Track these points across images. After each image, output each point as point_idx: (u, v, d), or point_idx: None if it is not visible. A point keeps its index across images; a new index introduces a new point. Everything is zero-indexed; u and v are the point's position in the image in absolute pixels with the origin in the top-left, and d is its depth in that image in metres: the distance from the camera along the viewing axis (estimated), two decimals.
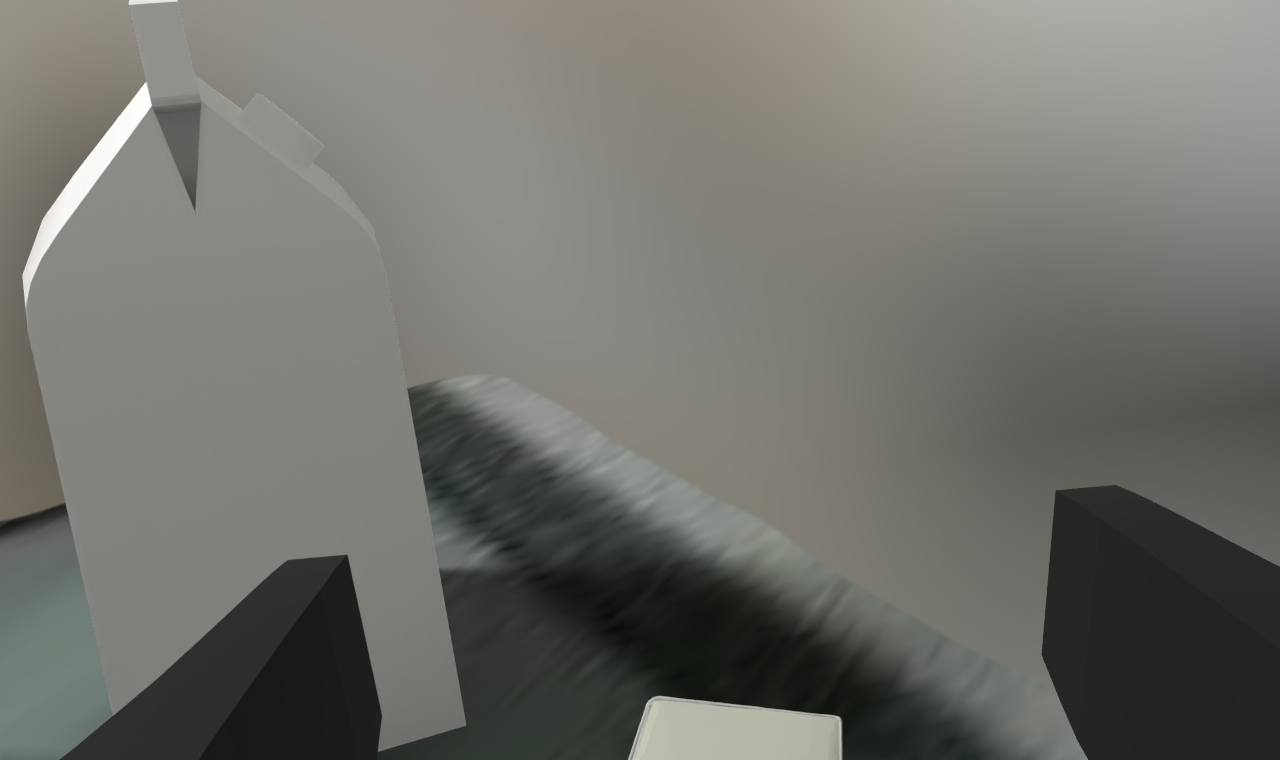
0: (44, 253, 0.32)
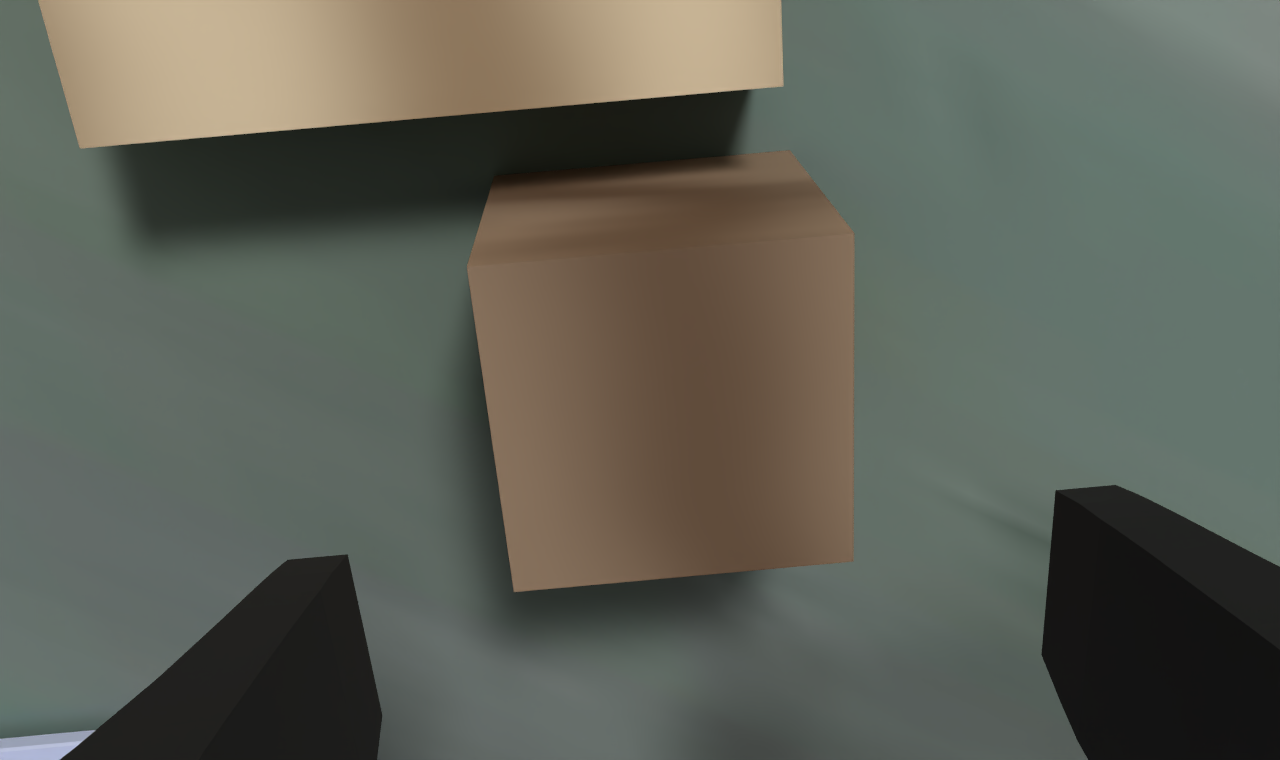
0: None
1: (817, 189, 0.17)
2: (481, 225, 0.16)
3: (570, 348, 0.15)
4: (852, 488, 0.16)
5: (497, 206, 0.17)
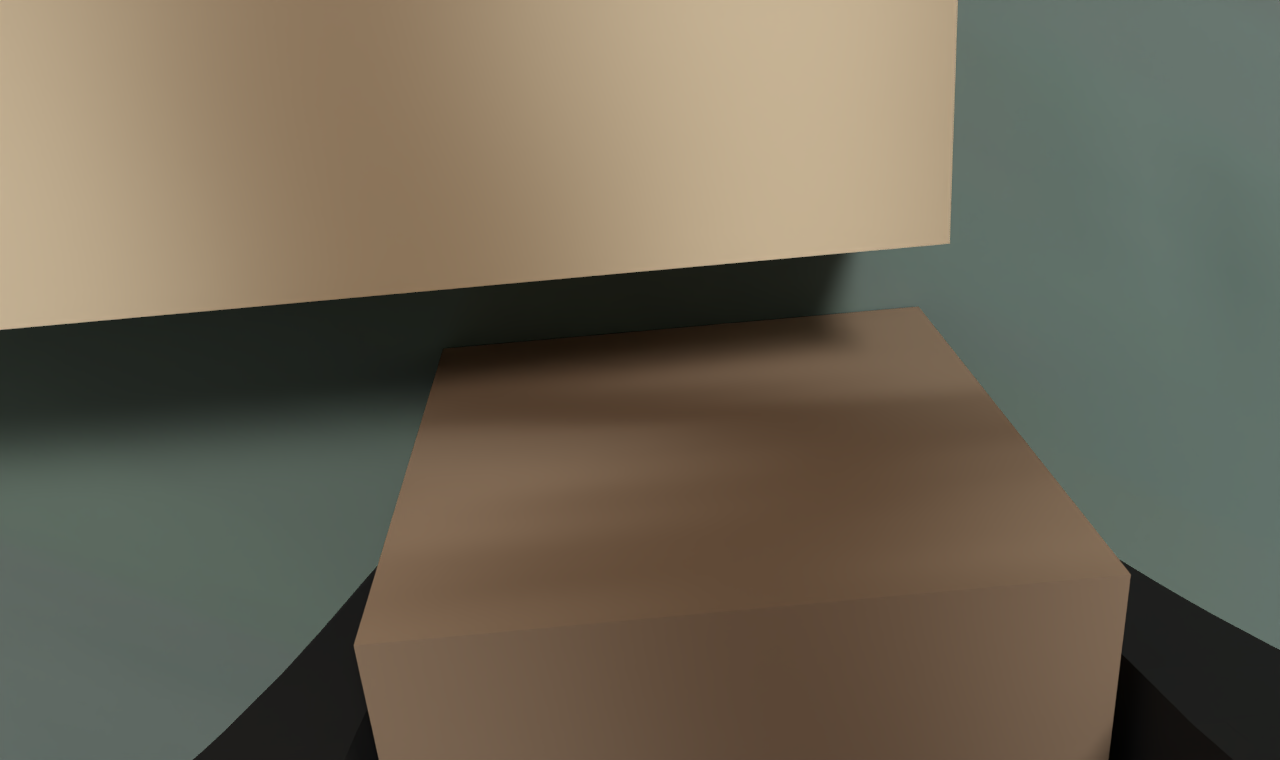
0: None
1: (1002, 419, 0.09)
2: (402, 495, 0.09)
3: None
4: None
5: (437, 438, 0.10)
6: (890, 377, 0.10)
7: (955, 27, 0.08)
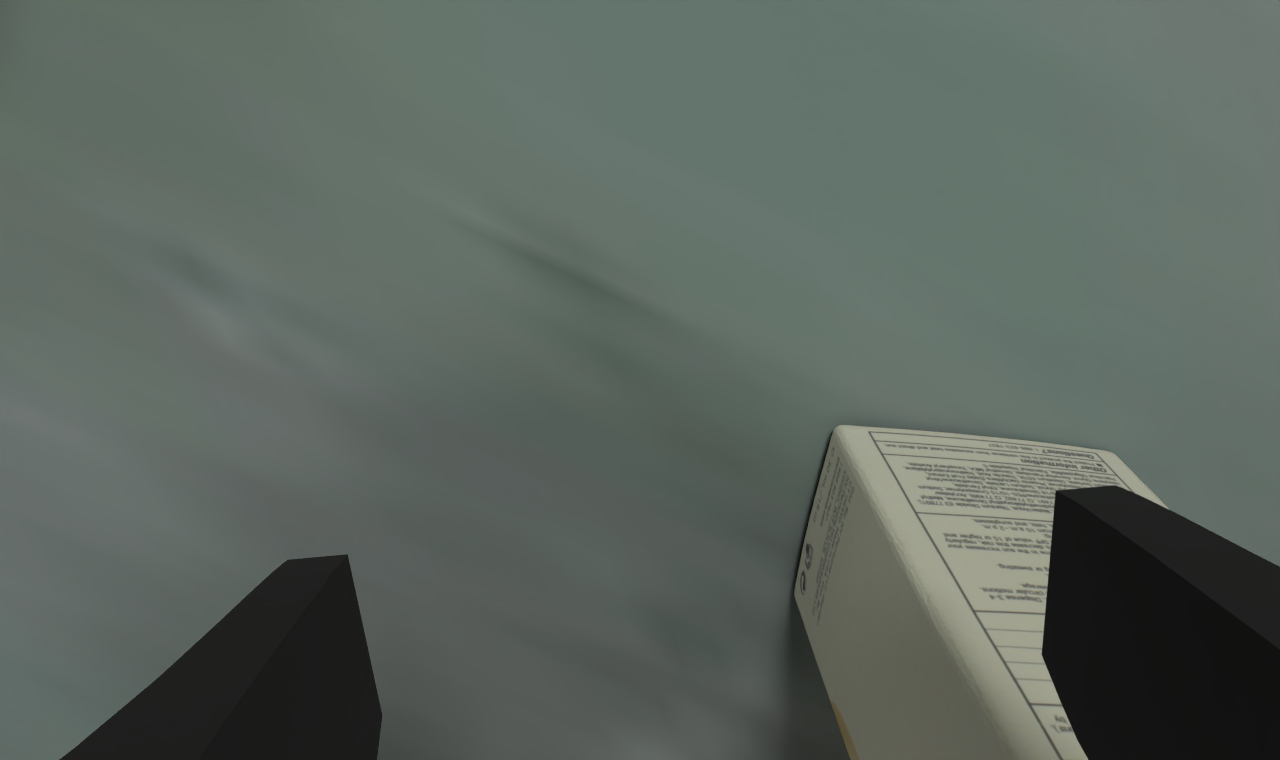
0: None
1: None
2: None
3: None
4: None
5: None
6: None
7: None
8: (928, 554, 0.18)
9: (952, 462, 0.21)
